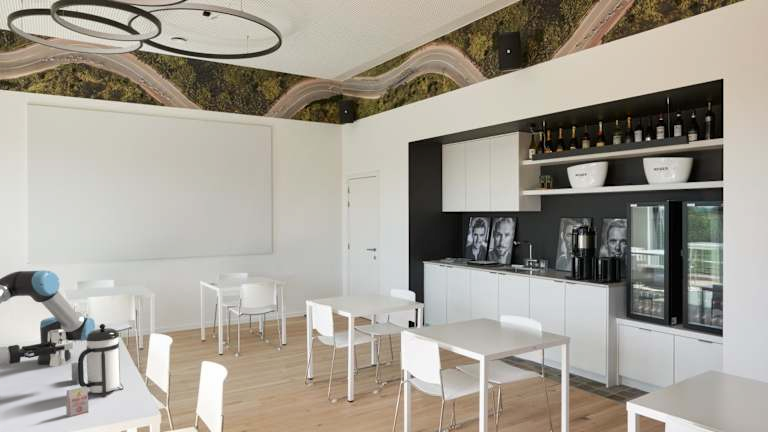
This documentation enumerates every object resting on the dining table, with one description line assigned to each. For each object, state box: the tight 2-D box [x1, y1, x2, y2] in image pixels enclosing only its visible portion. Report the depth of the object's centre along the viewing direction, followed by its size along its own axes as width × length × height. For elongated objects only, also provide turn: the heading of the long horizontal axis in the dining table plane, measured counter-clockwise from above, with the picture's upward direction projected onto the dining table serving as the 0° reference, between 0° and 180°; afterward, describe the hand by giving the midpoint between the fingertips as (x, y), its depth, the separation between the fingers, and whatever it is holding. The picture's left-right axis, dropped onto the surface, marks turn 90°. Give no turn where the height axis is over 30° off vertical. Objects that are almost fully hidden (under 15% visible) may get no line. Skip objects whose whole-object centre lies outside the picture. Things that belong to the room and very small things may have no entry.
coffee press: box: [77, 323, 124, 398], centre depth 227 cm, size 17×16×30 cm
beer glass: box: [48, 329, 67, 367], centre depth 232 cm, size 7×7×15 cm
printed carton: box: [65, 386, 90, 418], centre depth 205 cm, size 4×7×10 cm, turn 134°
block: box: [71, 362, 80, 385], centre depth 243 cm, size 2×9×8 cm, turn 45°
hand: (69, 344), depth 236 cm, fingers closed on beer glass, 7 cm apart
